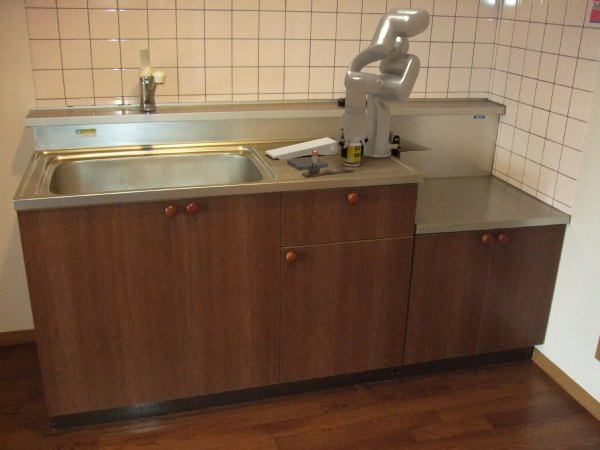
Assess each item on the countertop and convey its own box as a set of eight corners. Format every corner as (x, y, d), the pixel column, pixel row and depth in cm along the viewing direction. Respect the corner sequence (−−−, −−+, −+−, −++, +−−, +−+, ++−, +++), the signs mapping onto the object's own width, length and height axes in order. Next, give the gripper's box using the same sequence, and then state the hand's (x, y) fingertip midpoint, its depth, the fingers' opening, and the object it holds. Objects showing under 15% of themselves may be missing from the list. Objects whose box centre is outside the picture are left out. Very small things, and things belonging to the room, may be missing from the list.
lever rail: (349, 169, 226) (349, 167, 225) (353, 171, 223) (354, 169, 223) (302, 175, 217) (302, 172, 216) (305, 177, 214) (306, 174, 214)
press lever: (316, 170, 219) (317, 149, 216) (319, 172, 216) (320, 150, 214) (308, 171, 217) (309, 149, 214) (311, 172, 215) (312, 151, 212)
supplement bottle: (355, 167, 228) (357, 138, 224) (340, 164, 231) (341, 135, 227) (362, 163, 233) (364, 135, 229) (348, 161, 236) (349, 132, 232)
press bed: (314, 160, 236) (315, 157, 236) (327, 167, 228) (327, 164, 227) (287, 163, 231) (287, 160, 230) (299, 170, 223) (299, 167, 222)
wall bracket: (275, 174, 237) (338, 159, 247) (275, 158, 232) (339, 143, 242) (264, 162, 244) (326, 147, 254) (264, 146, 239) (327, 132, 249)
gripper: (369, 106, 231) (365, 152, 238) (329, 109, 224) (327, 156, 230) (380, 110, 225) (376, 156, 232) (340, 113, 217) (337, 161, 224)
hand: (352, 156), depth 231 cm, fingers closed on supplement bottle, 6 cm apart
